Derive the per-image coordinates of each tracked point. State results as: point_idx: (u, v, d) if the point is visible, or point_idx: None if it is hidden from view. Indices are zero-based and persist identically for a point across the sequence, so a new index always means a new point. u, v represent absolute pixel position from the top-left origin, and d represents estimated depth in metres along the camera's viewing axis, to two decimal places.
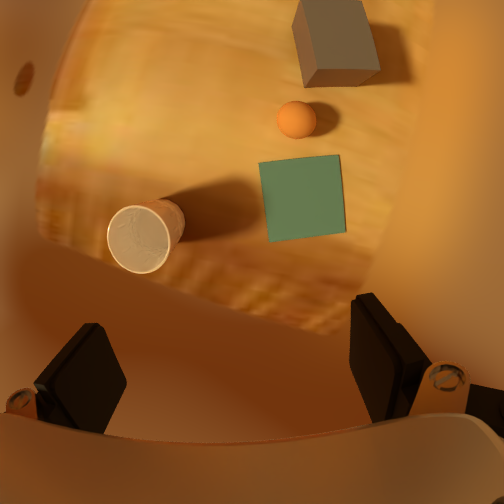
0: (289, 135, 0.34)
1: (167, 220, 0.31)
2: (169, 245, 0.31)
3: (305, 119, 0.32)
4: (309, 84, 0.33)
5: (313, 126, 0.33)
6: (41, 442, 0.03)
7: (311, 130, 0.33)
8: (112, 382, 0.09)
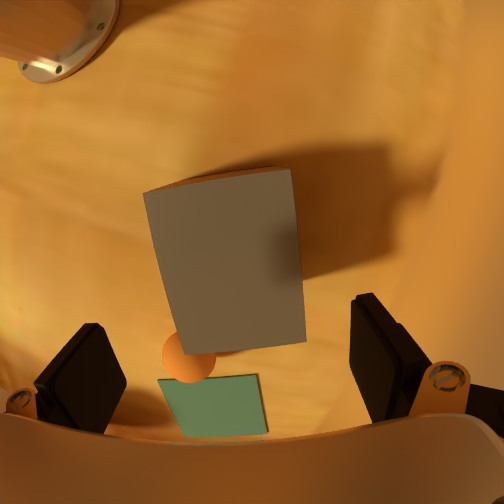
0: None
1: None
2: None
3: (192, 376, 0.23)
4: None
5: (208, 374, 0.24)
6: (41, 442, 0.03)
7: (206, 376, 0.24)
8: (112, 382, 0.09)
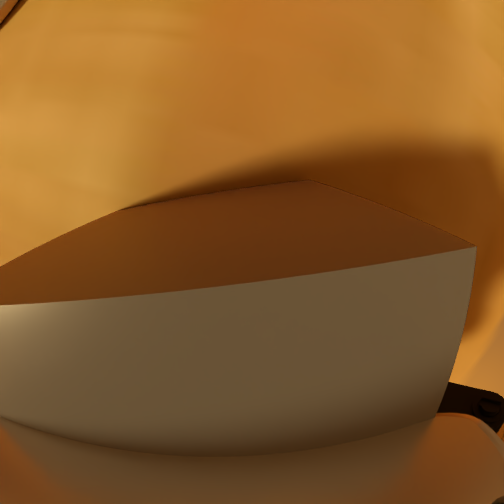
0: None
1: None
2: None
3: None
4: None
5: None
6: (41, 442, 0.03)
7: None
8: None
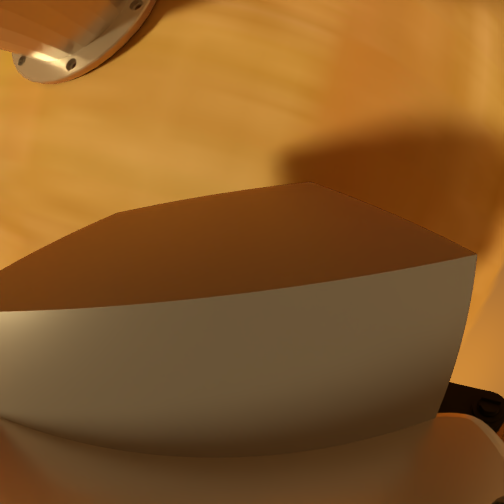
0: None
1: None
2: None
3: None
4: None
5: None
6: (41, 442, 0.03)
7: None
8: None
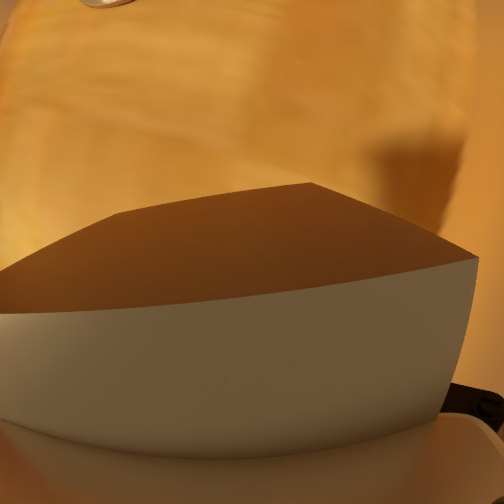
0: None
1: None
2: None
3: None
4: None
5: None
6: (41, 442, 0.03)
7: None
8: None
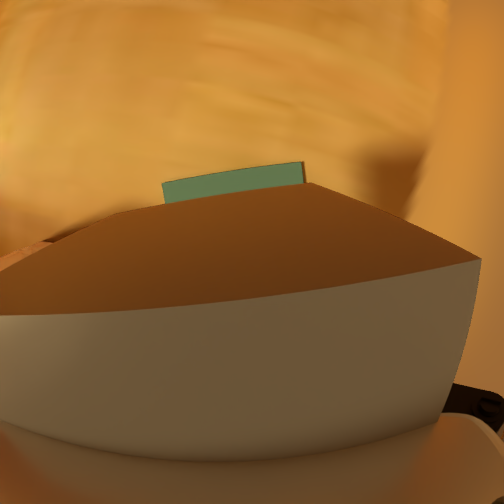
0: None
1: None
2: None
3: None
4: None
5: None
6: (41, 442, 0.03)
7: None
8: None
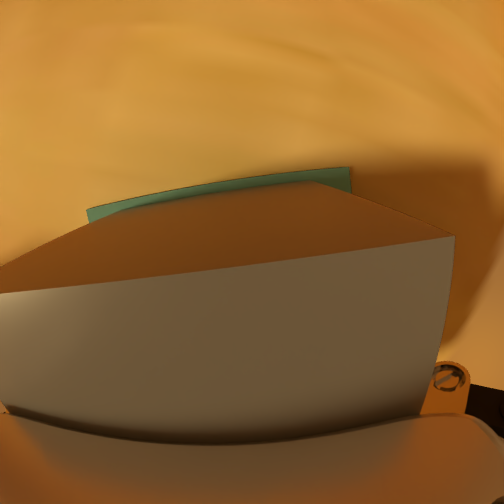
0: None
1: None
2: None
3: None
4: None
5: None
6: (41, 442, 0.03)
7: None
8: None
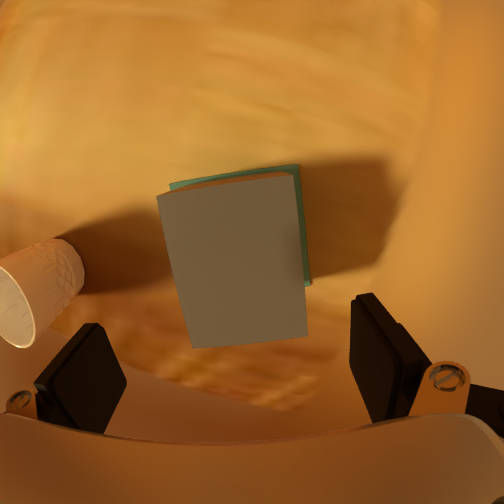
0: None
1: (31, 284, 0.18)
2: (33, 319, 0.17)
3: None
4: None
5: None
6: (41, 442, 0.03)
7: None
8: (112, 382, 0.09)
